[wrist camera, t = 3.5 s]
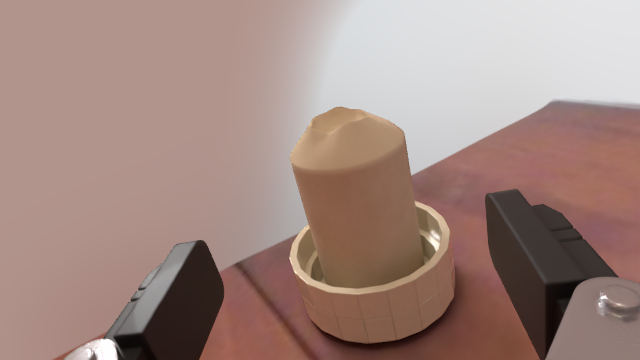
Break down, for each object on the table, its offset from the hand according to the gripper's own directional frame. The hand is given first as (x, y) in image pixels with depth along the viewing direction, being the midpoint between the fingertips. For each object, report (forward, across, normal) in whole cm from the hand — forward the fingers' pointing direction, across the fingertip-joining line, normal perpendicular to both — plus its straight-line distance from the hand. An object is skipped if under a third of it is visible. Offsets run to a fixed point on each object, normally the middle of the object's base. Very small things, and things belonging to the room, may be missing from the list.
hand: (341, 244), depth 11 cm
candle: (+8, 0, +9) cm, 12 cm away
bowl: (+8, 0, +9) cm, 12 cm away
